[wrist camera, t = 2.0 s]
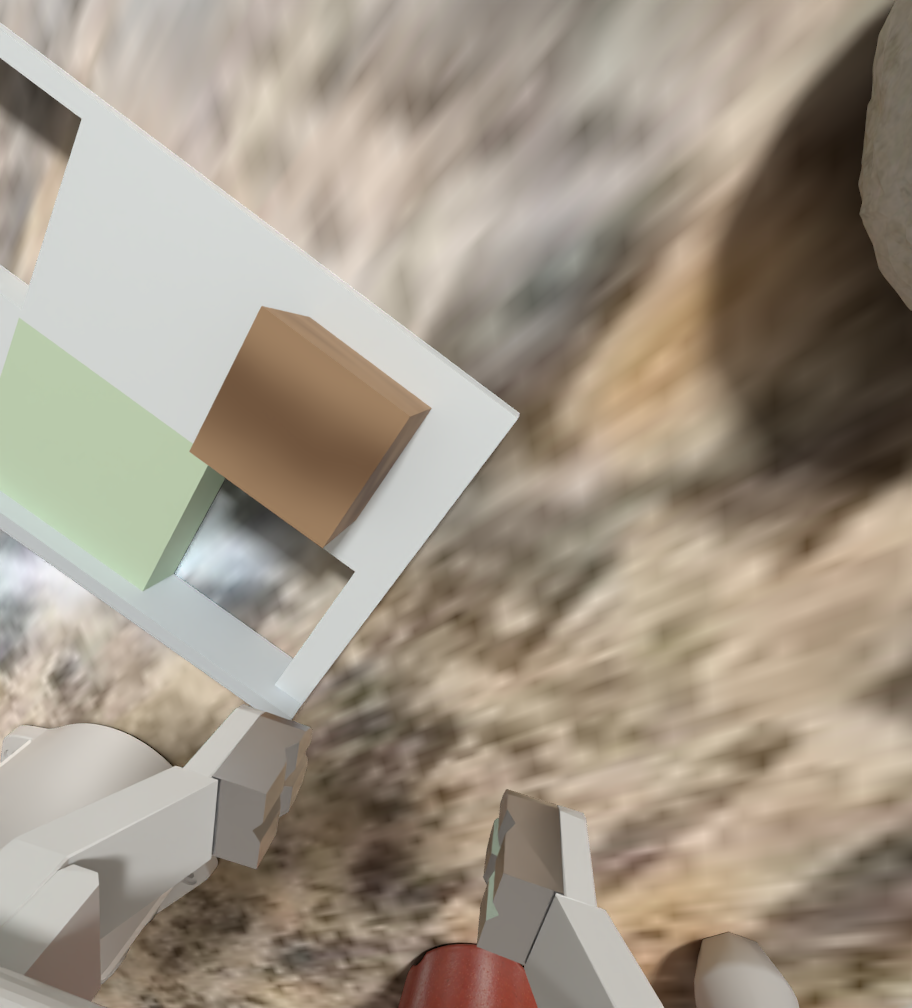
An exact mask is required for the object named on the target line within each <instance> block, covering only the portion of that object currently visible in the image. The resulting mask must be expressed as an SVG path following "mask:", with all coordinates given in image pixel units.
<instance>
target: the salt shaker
mask: <svg viewBox="0 0 912 1008" xmlns="http://www.w3.org/2000/svg"><path fill="white" fill-rule="evenodd" d="M694 989H695V1001H696V1007H697V1008H799V1005H798V1001H797V998H796V996H795V994H794V992H793V990H792V988H791V987H790V985H789V984H788V983H787V981H786V980H785V978H784V977H783V976H782V974H781V973H780V972H779V970H778V969H777V968H776V967H775V965H774V964H773V963H772V961H771V960H770V959H769V958H768V956H767V955H766V954H765V952H764V951H763V950H762V949H761V947H760V946H759V945H758V943H757V942H755V941H752V940H749V939H747V938H744V937H741V936H738V935H736V934H733V933H730V932H727V933H724V934H720V935H716V936H713V937H709V938H706V939H703V940H702V944H701V948H700V951H699V955H698V960H697V968H696V974H695V979H694Z"/></svg>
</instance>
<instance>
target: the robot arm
mask: <svg viewBox="0 0 912 1008" xmlns="http://www.w3.org/2000/svg"><path fill="white" fill-rule="evenodd" d="M312 731H313V729H312V728H311V727H308V726H305V725H303V724H300V723H297V722H294V721H291V720H288V719H285V718H283V717H280V716H277V715H274V714H271V713H268V712H264V711H261V710H258V709H256V708H253V707H250V706H247V705H244V704H242V705H241V706H239V707H238V708H236V709H235V710H234V711H233V712H232V713H231V714H230V715H229V716H228V717H227V719H226V720H225V721H224V722H223V723H222V724H221V725H220V727H219V728H218V729H217V730H216V731H215V732H214V733H213V734H212V736H211V737H210V738H209V739H208V740H207V741H206V742H205V743H204V745H203V746H202V747H201V748H200V749H199V750H198V751H197V753H196V754H195V755H194V756H193V757H192V758H191V759H190V760H189V762H188V763H187V764H186V765H185V766H184V767H183V768H182V767H179V766H174V767H172V766H171V765H170V764H169V763H168V762H167V761H166V760H165V759H164V758H163V757H162V756H161V755H160V754H158V753H157V752H156V751H155V750H153V749H152V748H151V747H149V746H148V745H146V744H145V743H143V742H141V741H140V740H138V739H136V738H134V737H133V736H131V735H128V734H126V733H124V732H122V731H119V730H116V729H113V728H110V727H107V726H102V725H97V724H88V723H78V724H70V725H66V726H62V727H58V728H53V729H47V728H42V727H36V726H29V725H21V726H18V727H16V728H15V729H14V730H13V731H12V732H10V733H9V734H8V735H7V736H6V737H5V738H4V740H3V746H2V753H1V760H0V1008H107V1007H104V1006H102V1005H99V1004H96V1003H94V1002H91V1001H92V1000H93V998H94V997H95V995H96V994H97V992H98V991H99V989H100V986H101V984H103V983H104V982H105V981H106V980H107V979H108V978H109V977H110V976H111V975H112V974H113V973H114V972H115V971H116V970H117V968H118V967H119V966H120V964H121V963H122V962H123V960H124V958H125V957H126V954H127V952H128V950H129V947H130V946H131V944H132V943H133V942H134V940H135V939H136V937H137V936H138V935H139V933H140V932H141V931H142V929H143V928H144V926H146V925H147V924H148V923H149V922H150V921H151V920H152V919H153V918H154V916H155V915H156V914H158V913H159V912H161V911H162V910H163V909H165V908H166V907H168V906H169V905H171V904H172V903H174V902H175V901H177V900H178V899H179V898H181V897H182V896H184V895H185V894H187V893H188V892H190V891H191V890H193V889H194V888H196V887H197V886H198V885H200V884H201V883H203V882H204V881H206V880H207V879H208V878H209V877H210V875H211V874H212V873H213V871H214V870H215V869H216V867H217V865H218V860H217V857H219V858H222V859H225V860H228V861H231V862H235V863H238V864H241V865H244V866H247V867H251V868H254V869H257V868H258V866H259V864H260V862H261V861H262V859H263V857H264V855H265V853H266V852H267V850H268V848H269V846H270V844H271V843H272V841H273V839H274V837H275V836H276V834H277V827H278V821H279V817H281V816H282V815H284V814H286V813H287V812H289V810H290V808H291V807H292V805H293V803H294V801H295V799H296V797H297V795H298V792H299V790H300V788H301V785H302V783H303V780H304V777H305V773H306V770H307V764H308V758H307V756H306V754H305V752H306V750H307V749H308V747H309V745H310V743H311V739H312ZM483 878H484V880H485V882H486V884H487V887H486V890H485V892H484V895H483V898H482V901H481V905H480V916H479V927H478V938H477V947H479V948H481V949H484V950H486V951H489V952H492V953H494V954H497V955H499V956H502V957H505V958H507V959H510V960H512V961H515V962H517V963H520V964H523V965H525V967H524V970H525V973H526V976H527V979H528V981H529V984H530V987H531V990H532V993H533V996H534V998H535V1001H536V1004H537V1007H538V1008H664V1006H663V1005H662V1003H661V1001H660V1000H659V998H658V996H657V995H656V993H655V991H654V990H653V988H652V986H651V985H650V983H649V981H648V980H647V978H646V976H645V975H644V973H643V971H642V970H641V968H640V966H639V965H638V963H637V961H636V960H635V958H634V956H633V955H632V953H631V951H630V950H629V948H628V946H627V945H626V943H625V941H624V940H623V938H622V937H621V935H620V933H619V932H618V930H617V928H616V927H615V925H614V923H613V922H612V920H611V918H610V917H609V915H608V913H607V912H606V910H604V909H602V908H599V907H597V903H596V895H595V886H594V878H593V870H592V862H591V854H590V845H589V837H588V829H587V821H586V817H585V815H584V813H582V812H579V811H575V810H572V809H569V808H566V807H563V806H559V805H557V806H556V804H554V803H550V802H547V801H544V800H540V799H537V798H534V797H531V796H527V795H524V794H521V793H518V792H514V791H511V790H508V789H506V791H505V792H504V794H503V797H502V800H501V803H500V813H499V818H498V819H496V820H495V821H494V824H493V827H492V830H491V834H490V838H489V842H488V846H487V852H486V859H485V866H484V875H483Z"/></svg>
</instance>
